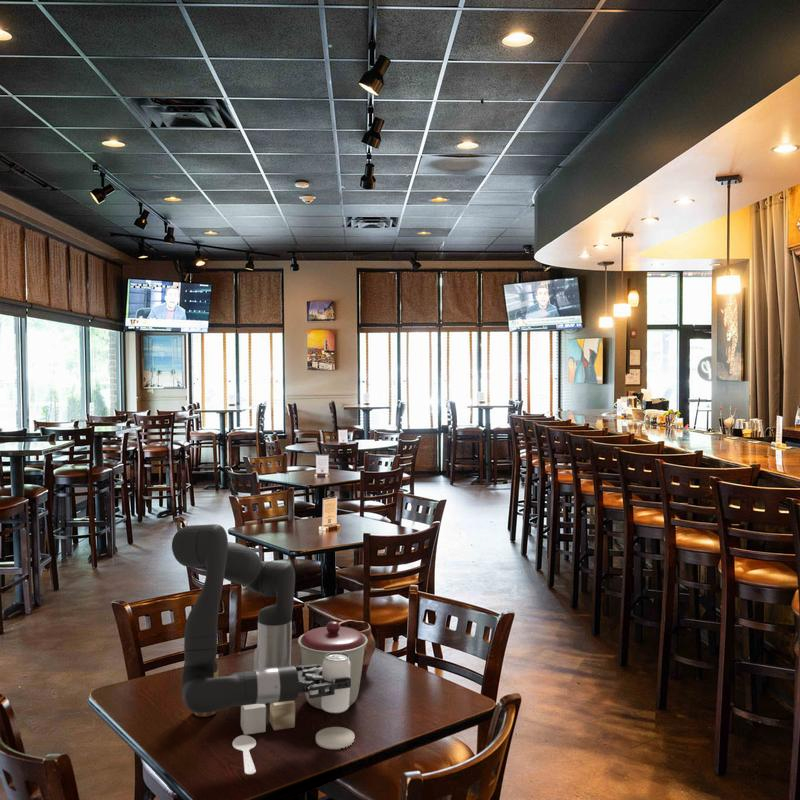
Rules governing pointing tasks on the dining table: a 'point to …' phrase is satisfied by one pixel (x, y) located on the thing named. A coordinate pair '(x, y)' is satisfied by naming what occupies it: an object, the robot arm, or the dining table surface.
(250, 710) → the white rectangular block
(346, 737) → the cream saucer
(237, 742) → the spoon
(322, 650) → the canister
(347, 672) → the can
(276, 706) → the beech block
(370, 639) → the decorative planter
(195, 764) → the dining table surface
